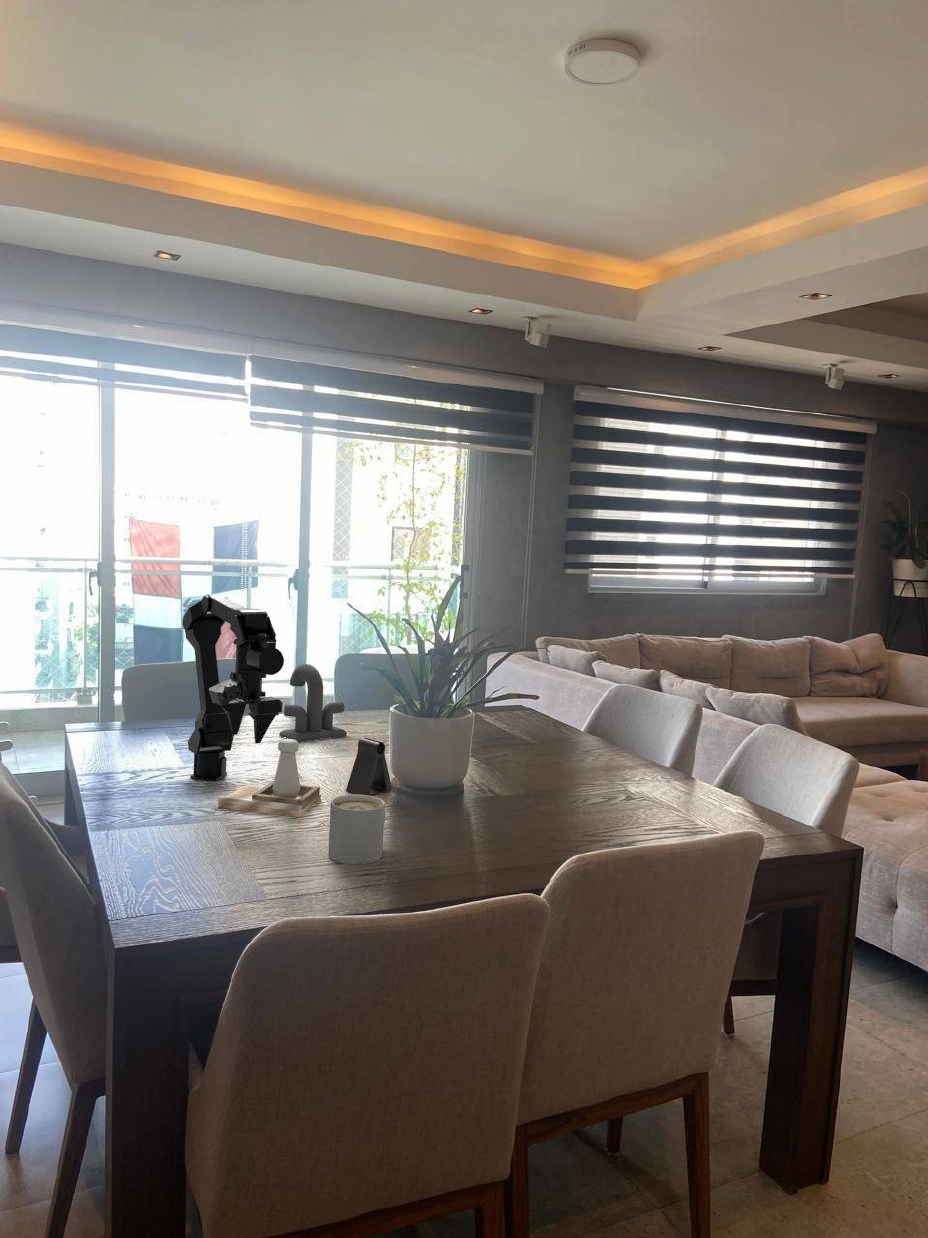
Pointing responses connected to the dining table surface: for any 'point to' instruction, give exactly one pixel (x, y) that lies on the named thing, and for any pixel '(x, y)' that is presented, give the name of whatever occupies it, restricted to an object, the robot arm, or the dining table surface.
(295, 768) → the salt shaker
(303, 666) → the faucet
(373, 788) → the dark brown phone stand
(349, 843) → the coffee mug
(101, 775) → the dining table surface
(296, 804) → the wooden tray
